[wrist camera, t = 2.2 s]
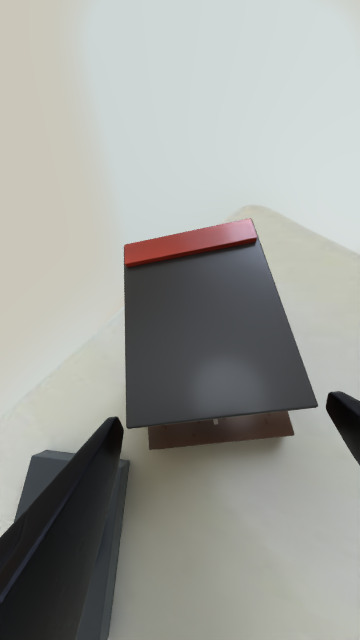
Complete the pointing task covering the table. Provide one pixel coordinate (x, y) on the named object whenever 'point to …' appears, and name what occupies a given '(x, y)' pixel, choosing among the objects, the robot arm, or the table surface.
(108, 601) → the button housing
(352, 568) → the table surface
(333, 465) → the table surface
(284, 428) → the base
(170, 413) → the box
